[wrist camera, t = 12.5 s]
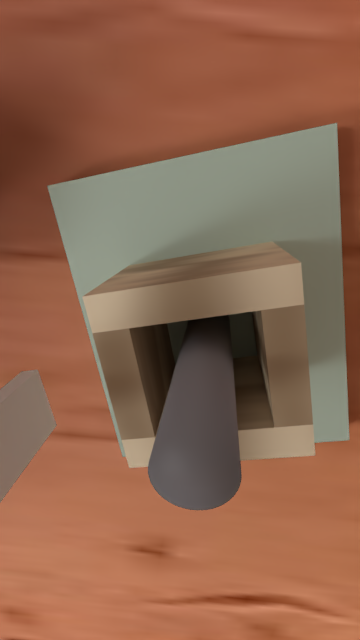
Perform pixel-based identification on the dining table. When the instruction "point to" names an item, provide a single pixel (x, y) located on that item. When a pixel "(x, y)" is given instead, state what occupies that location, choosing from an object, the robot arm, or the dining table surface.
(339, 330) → the rod stand
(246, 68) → the dining table surface
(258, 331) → the wooden square ring
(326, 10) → the dining table surface
